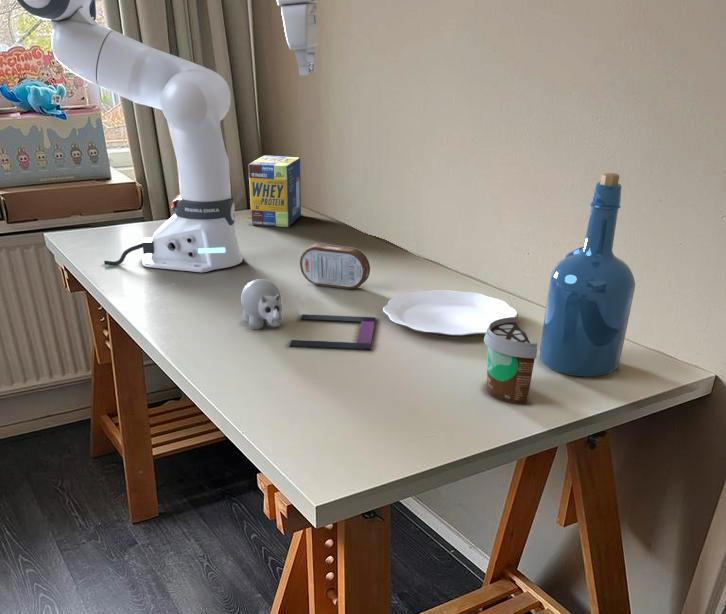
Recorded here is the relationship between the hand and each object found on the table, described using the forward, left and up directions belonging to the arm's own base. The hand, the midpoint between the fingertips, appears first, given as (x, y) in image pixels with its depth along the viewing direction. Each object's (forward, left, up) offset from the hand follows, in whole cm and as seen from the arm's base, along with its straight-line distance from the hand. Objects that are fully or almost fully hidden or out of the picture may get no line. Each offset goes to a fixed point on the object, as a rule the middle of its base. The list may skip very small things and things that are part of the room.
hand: (307, 73), depth 157 cm
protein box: (-15, +43, -39) cm, 60 cm away
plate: (+31, -33, -39) cm, 60 cm away
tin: (+7, -15, -39) cm, 42 cm away
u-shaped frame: (+10, -43, -39) cm, 58 cm away
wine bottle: (+52, -52, -39) cm, 83 cm away
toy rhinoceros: (-3, -43, -39) cm, 58 cm away
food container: (+38, -65, -39) cm, 85 cm away
